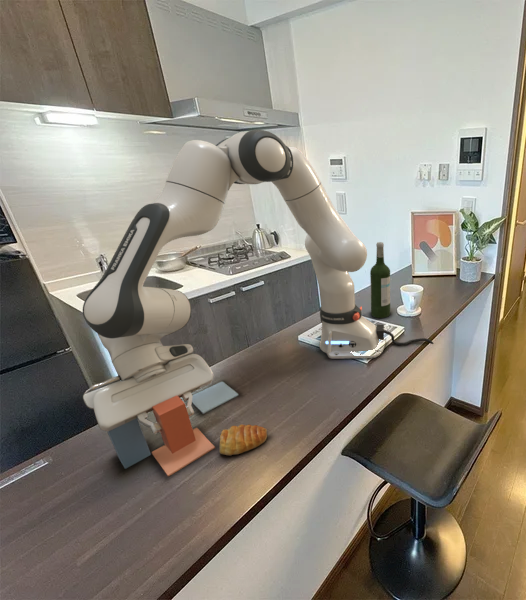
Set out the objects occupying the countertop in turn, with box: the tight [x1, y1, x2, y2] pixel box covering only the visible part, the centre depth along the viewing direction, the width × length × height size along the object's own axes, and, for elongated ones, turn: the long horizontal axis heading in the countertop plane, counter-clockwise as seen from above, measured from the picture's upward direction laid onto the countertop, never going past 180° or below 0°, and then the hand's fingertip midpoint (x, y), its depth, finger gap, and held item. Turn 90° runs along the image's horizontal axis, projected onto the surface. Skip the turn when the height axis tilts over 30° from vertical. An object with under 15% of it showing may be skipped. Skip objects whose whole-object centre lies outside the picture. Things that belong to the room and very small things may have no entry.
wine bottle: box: [369, 241, 391, 319], centre depth 129 cm, size 8×8×30 cm
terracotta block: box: [152, 396, 196, 454], centre depth 67 cm, size 4×4×10 cm
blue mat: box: [192, 380, 239, 415], centre depth 86 cm, size 9×9×1 cm
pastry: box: [219, 423, 268, 456], centre depth 71 cm, size 9×7×4 cm
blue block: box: [106, 418, 152, 470], centre depth 67 cm, size 4×4×10 cm
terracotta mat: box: [151, 427, 216, 478], centre depth 70 cm, size 9×9×1 cm
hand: (175, 423), depth 67 cm, fingers closed on terracotta block, 4 cm apart
